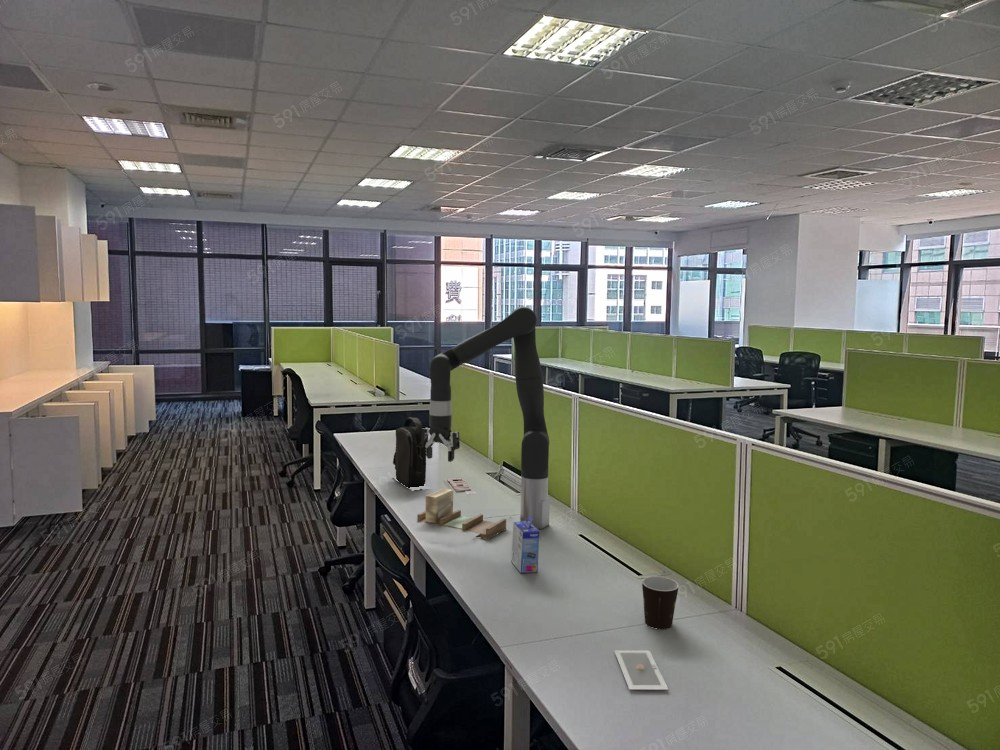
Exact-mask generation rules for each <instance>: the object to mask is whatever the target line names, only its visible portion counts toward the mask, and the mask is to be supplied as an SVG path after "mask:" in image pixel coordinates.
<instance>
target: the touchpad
mask: <svg viewBox="0 0 1000 750" xmlns="http://www.w3.org/2000/svg"><path fill="white" fill-rule="evenodd" d="M613 651H614V654H615V656H616V659H617V661H618V663H619V666H620V669H621V671H622V674H623V676H624V679H625V682H626V684H627V687H628V689H629V690H657V691H658V690H661V691H662V690H667V691H668V690H669V687H668V686H667V683H666V681H665V679H664V677H663V674H662V673H661V671H660V668H659V667H658V664H657V663H656V660H655V659H654V657H653V655H652V653H651V650H613Z"/></svg>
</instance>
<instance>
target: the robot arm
mask: <svg viewBox="0 0 1000 750" xmlns="http://www.w3.org/2000/svg"><path fill="white" fill-rule="evenodd" d="M537 320H538V319H537V315H536V312H534V310H533V309H532V308H530V307H527V306H518V307H515V309H514V310H513V311H511V312H510V314H509V315H507V316H506V317H505V318H503V319H502V320H501V321H499V322H498V323H497V324H495V325H493V326H492V327H491V326H490V327H489V328H488V329H485V330H483V331H481V332H478V333H477V334H474V335H473V336H471V337H468V338H466V339H465V340H463V341H461V342H459V343H458V344H456V345H455V346H453V347H451V348H449V349H447V350H445V351H443V352H441V353H439V354H437V355H435V356H434V357H433V358H432V359H431V361H430V364H429V379H430V399H429V400H430V401H429V417H428V420H429V424H428V425H429V427H425V428H423V427H422V436H421V445H424V446H425V447H426V459H427V460H428V459H430V460H431V459H432V458H433V445H434V444H435V443H436V444H437V443H440V444H443V445H444V446H445V447H446V448H447V450H448V451H447V462H450V463H451V462H453V461H454V460H455V451H456V450H459V449H460V448H461V446H460V443H461V442H460V432H459V430H458V431H452V420H453V419H452V416H453V414H452V413H453V410H452V409H453V408H452V407H453V405H452V386H451V371H453V370H455V369H457V368H458V367H459V366H461V365H464V364H467V363H469V362H472V361H473V360H476V358H479V357H480V356H483V355H484V354H485V353H487V352H488V351H490V350H492V349H494V348H495V347H497V346H499V345H500V344H502V343H504V342H506V341H507V340H511V339H513V344H514V377H515V386H516V393H517V398H518V402H519V406H520V409H521V413H522V419H523V420H522V421H523V438H522V441H521V449H520V450H521V452H520V456H521V457H520V462H521V464H520V468H521V469H520V470H521V476H520V477H521V480H520V516H519V520H520V521H519V522H521V521H526V520H527V519H528V517H529V516H530V517H531V518H532V519H533V522H532V525H533V526H534V527H535V528H537V529H538V530H539V529H540V530H543V529H544V528H545V527H547V526H548V525H550V507H551V506H550V504H551V501H550V500H551V498H550V497H548V496H549V494H548V493H549V459H550V458H549V457H550V437H549V434H548V428H547V424H546V420H545V393H544V388H545V387H544V380H543V379H544V378H543V377H544V376H543V372H542V365H541V361H540V357H539V354H538V349H537V341H536V327H537V322H538V321H537ZM429 435H430V437H429ZM528 521H529V522H530V520H528Z"/></svg>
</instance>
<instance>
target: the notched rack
mask: <svg viewBox="0 0 1000 750" xmlns="http://www.w3.org/2000/svg"><path fill="white" fill-rule="evenodd" d="M416 519H417V521H419V522H422V523H423V522H424V523H427V524H428V523H429V524H433V525H436V526H437V525H438V526H442V527H448V528H451V529H456V530H461V531H466V532H471V533H476V534H478V535H475V538H478V537H481V538H480V539H483V538H486V539H485V540H488V539H489V540H490V539H492V538H493V536H494V535H495V536H497V535H498V534H497V533H499V532H500V533H502V532H503V531H502V530H504V529H505V530H507V519H506V518H502V519H501V520H499V521H496V522H494V521H488V520H484V514H482V513H480V514H477V515H476V516H474V517H468V516H463V515H462V511H461V510H460V509H457V510H455V511H453V513H451V514H449V515H447V516H445V517H443V518H441V519H439V522H437V523H431V522H426V510H424V511H423V512H421V513H418V514H417V518H416ZM505 530H504V531H505ZM501 531H502V532H501ZM500 533H499V534H500ZM496 534H497V535H496ZM495 536H494V537H495ZM491 537H492V538H491Z"/></svg>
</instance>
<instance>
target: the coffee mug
mask: <svg viewBox="0 0 1000 750" xmlns="http://www.w3.org/2000/svg"><path fill="white" fill-rule="evenodd" d="M641 586H642V587H641V588H642V599H643V600H642V601H643V603H642V604H643V613H644V623H645V624H647V625H646V626H647V627H649V626H650V628H651V627H653V628H652V629H654V628H657V629H656V630H668V629H670V628H672V626H673V622H674V621H673V620H674V614H675V609H676V604H677V598H678V591H679V583H678V582H677V581H676V580H674V579H672V578H669V577H666V576H660V575H656V576H655V575H652V576H647V577H644V578H643V579H642V580H641ZM667 628H668V629H667Z"/></svg>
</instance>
